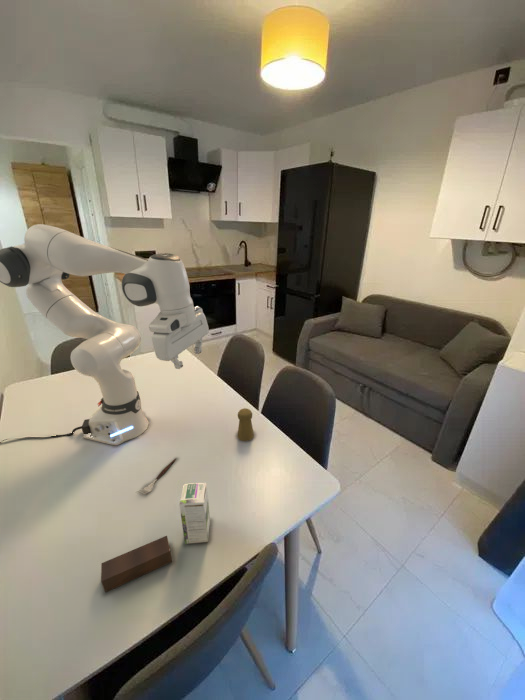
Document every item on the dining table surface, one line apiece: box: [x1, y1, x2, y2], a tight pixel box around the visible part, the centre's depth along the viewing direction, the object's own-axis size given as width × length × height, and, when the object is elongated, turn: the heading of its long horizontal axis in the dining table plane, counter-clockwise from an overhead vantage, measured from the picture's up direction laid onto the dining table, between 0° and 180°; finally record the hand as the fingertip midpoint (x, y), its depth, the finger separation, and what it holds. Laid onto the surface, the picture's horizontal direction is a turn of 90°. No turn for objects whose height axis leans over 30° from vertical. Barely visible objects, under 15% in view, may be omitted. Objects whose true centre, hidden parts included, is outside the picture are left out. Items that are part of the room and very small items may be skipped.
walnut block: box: [100, 535, 173, 593], centre depth 66 cm, size 14×4×4 cm, turn 116°
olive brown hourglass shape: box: [237, 407, 255, 442], centre depth 104 cm, size 6×6×11 cm
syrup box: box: [178, 482, 211, 545], centre depth 71 cm, size 6×6×14 cm
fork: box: [136, 458, 177, 496], centre depth 89 cm, size 3×16×2 cm, turn 156°
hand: (189, 360), depth 85 cm, fingers open, 8 cm apart
